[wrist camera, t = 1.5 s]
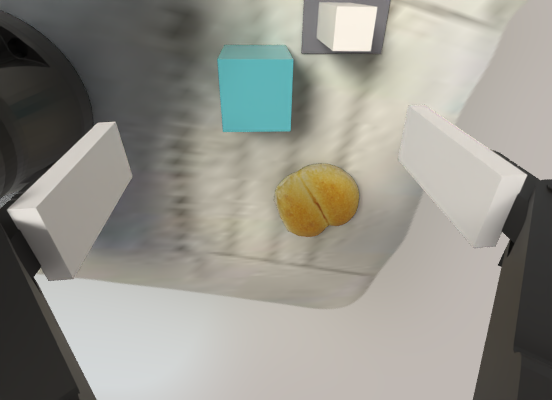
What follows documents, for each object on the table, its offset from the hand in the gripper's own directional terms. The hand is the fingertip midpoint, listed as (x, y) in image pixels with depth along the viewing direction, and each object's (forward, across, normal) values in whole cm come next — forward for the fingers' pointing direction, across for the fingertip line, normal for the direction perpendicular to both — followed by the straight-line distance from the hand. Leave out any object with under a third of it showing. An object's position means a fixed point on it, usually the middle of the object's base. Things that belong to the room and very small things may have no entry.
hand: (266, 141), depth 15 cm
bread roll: (+17, +6, -14) cm, 23 cm away
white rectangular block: (+16, +7, +3) cm, 18 cm away
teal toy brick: (+17, 0, -1) cm, 17 cm away
